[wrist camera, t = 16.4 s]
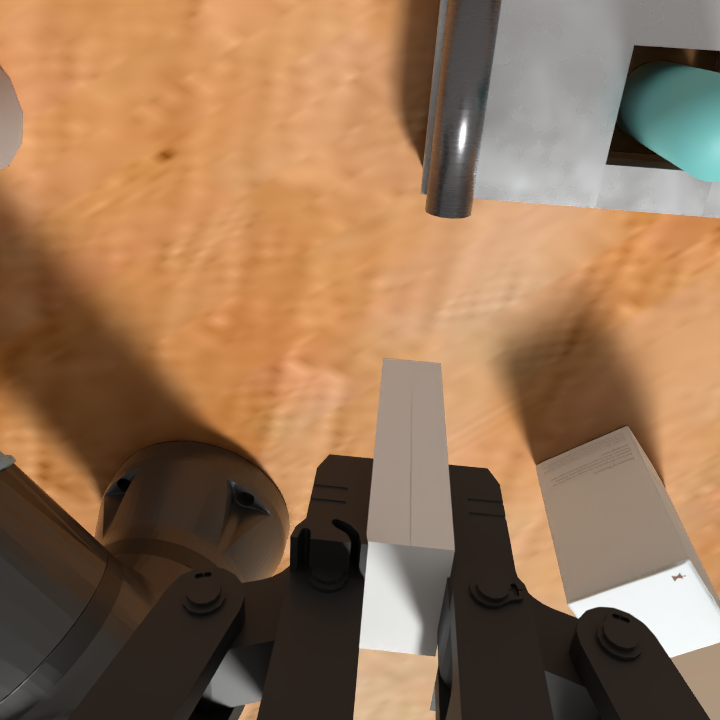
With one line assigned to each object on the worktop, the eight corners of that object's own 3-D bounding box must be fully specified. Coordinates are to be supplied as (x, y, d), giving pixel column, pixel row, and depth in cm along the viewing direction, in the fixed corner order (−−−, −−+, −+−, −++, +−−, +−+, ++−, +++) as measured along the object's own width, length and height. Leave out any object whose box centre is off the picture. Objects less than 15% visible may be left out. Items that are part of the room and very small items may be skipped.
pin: (678, 142, 35) (760, 186, 26) (605, 136, 35) (662, 178, 27) (701, 63, 33) (798, 82, 24) (624, 58, 33) (692, 75, 25)
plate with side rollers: (837, 218, 36) (911, 256, 31) (420, 185, 38) (419, 215, 32) (933, -2, 31) (1043, -4, 25) (443, -31, 32) (445, -40, 27)
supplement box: (532, 463, 47) (563, 603, 36) (628, 422, 44) (694, 558, 33) (575, 528, 49) (616, 677, 38) (669, 493, 47) (741, 641, 36)
